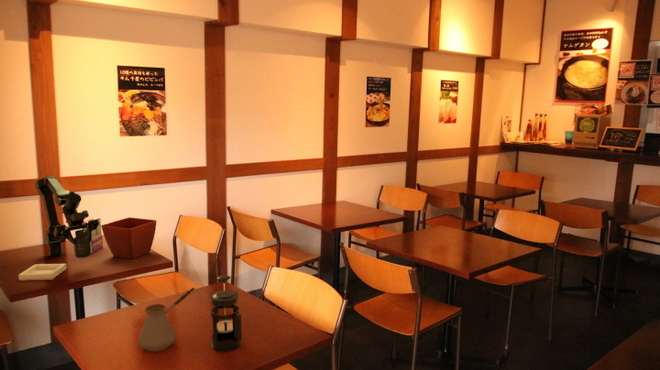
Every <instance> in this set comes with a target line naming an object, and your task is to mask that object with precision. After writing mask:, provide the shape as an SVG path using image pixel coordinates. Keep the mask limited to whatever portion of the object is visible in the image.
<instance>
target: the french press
mask: <svg viewBox="0 0 660 370" xmlns="http://www.w3.org/2000/svg"><path fill="white" fill-rule="evenodd" d="M231 278H232V277H231V275H227V274H225V275H224V274H223V275H220V276H218V277H217V278H216V279H217V280H218V281H221V282H222V283H223V289H220V290H217V291H214V292H212V293H211V294H210V296H209V298H210V300H211V304H212V305H213V307H212V308H211V309H210V316H211V318H212V326H211V329H212V332H213V333H212V334H211V344H210V345H211V346H210V347H211V349H212V350H214V351H216V352H221V353H226V352H232V351H234V350H237V349H238V348H239V347H241V345H242V341H243V335H242V334H243V333H242V330H243V329H242V314H241V313H240V307H239V306H238V305H237V303H238V301H239V300H238V299H239V296H240V293H239V292H238V291H236V290H233V289H226V281H228V280H230V279H231ZM220 309H223V310H224V314H223V315H221V314H220V315H219V310H220ZM226 309H232V311H233V312H232V313H230V314H227V313H226V311H227V310H226ZM230 319H231V320H230ZM222 340H226V341H222Z"/></svg>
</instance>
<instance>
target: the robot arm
mask: <svg viewBox="0 0 660 370" xmlns="http://www.w3.org/2000/svg"><path fill="white" fill-rule="evenodd" d="M34 187H35V189H36V192H37V194H38V195H39V196H40V197H42V202H43V205H44V211H45V216H46V220H47V224H48V225H47V228H46V230H45V236H44V239H43V241H44V244H45V245H47V246H48V247H49V253H48V254H47V255H46V256H47V257H61V256H62V255H64V254H65V253H66V250H65V251H64V250H63V243H65V242H66V241H69V242H70V243H71V244H72V245H73V246H74V245H75V244H76V243H75V240H74V238H75V237H73V234H72V231H77V230H82V229H83V228H86V230H87V236H89V237H90V242H91V241H92V231H93V230H96V229H97V227H98V225H99V221H98V220H97V219H94V220H89V221H88V223H87V224H82V223H83V222H84V221H85V220H86V218H88V217H89V216H90V215H89V211H88V210H87V209H86V210H82V211H80V212H78V208H79V207H80V204H81V202H82V195H80V194H78V193H76V192H75V191H70V190H67V189H65V188H64V187H63V186H62V184H61V183H60V182H59V181H58V179H57V176H54V175H50V176H49V175H48V176H44V177H43V178H40V179H37V180H36V181H35V183H34ZM53 195H54V196H53ZM56 205H57V207H59V206H60V207H62V208H61V214H63V215H64V218H65V223H66V224H67V225H68V226H67V225H66V224H62V223H60V222H59V218H58V213H57V208H56Z"/></svg>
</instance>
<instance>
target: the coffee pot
mask: <svg viewBox="0 0 660 370" xmlns="http://www.w3.org/2000/svg"><path fill="white" fill-rule="evenodd" d="M191 292H194V293H197V292H198V291H197V289H196V288H194V287H192V288H190V289H189V290H187V291H186V293H184V294H183V295H180V297H179V298H178V299H177V300H176V301H175V302H174V303H173V304H172V305H171V306H169V307H168V308H167V306H166V305H165V304H161V303H155V304H150V305H147V306H145V308H144V312H145V313H146V317H145V321H144V322H143V326H142V328H141V330H140V333H139V335H138V338H137V341H138V344H139V346H140V347H142V348H143V349H145V350H146V352H147V351H148V352H161V351H164V350H166V349H168V348H169V347H170V346H171V345H172V344H173V343H174V342H175V340H176V337H177V335H176V334H177V333H176V331H175V330H174V328H173V326H172V324H171V322H170V320H169V319H168V317H167V314H168V313H169V312H170V311H171V310H172V309H174V307H176V306H177V305H178V304H180V303H181V302H182V301H184V299H186V298H187V297H188V296H189V295H190V294H191Z"/></svg>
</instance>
